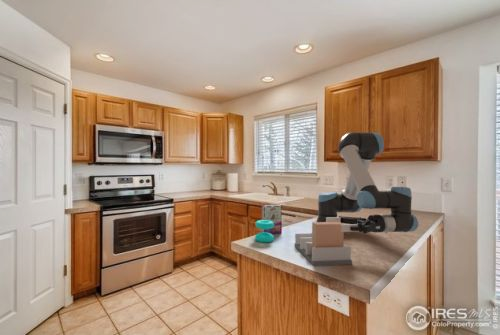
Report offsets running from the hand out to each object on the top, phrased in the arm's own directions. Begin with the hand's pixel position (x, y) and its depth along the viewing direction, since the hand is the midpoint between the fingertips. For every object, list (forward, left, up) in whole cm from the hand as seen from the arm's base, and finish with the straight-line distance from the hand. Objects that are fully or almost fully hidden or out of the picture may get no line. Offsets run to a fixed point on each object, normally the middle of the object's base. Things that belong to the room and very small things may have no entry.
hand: (333, 224), depth 99 cm
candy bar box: (-44, -16, -15) cm, 49 cm away
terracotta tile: (0, -2, -14) cm, 14 cm away
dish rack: (-7, -2, -15) cm, 17 cm away
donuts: (-30, -23, -15) cm, 41 cm away
